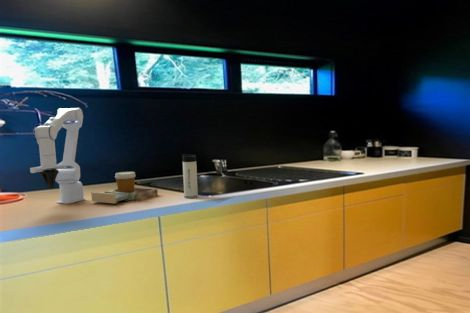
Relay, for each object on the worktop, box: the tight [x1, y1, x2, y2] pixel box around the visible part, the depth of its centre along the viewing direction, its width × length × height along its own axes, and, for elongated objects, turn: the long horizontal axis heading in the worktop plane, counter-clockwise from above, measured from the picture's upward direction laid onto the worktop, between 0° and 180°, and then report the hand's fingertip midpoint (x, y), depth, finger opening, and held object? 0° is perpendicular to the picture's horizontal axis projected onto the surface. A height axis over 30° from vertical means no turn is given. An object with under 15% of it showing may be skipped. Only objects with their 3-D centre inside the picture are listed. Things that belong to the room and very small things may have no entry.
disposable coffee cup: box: [114, 171, 137, 193], centre depth 166 cm, size 10×10×12 cm
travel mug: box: [182, 153, 199, 199], centre depth 163 cm, size 6×7×20 cm
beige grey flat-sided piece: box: [91, 189, 136, 205], centre depth 160 cm, size 13×14×5 cm
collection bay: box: [104, 186, 159, 202], centre depth 169 cm, size 14×20×3 cm
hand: (50, 188), depth 145 cm, fingers closed
